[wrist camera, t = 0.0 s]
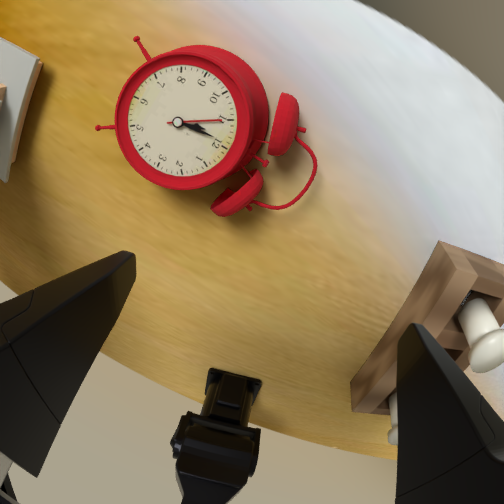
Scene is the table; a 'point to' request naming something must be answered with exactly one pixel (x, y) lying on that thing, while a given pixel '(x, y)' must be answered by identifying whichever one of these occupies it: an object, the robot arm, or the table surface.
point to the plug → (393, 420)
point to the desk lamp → (14, 98)
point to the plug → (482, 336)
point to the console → (431, 319)
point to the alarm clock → (202, 123)
